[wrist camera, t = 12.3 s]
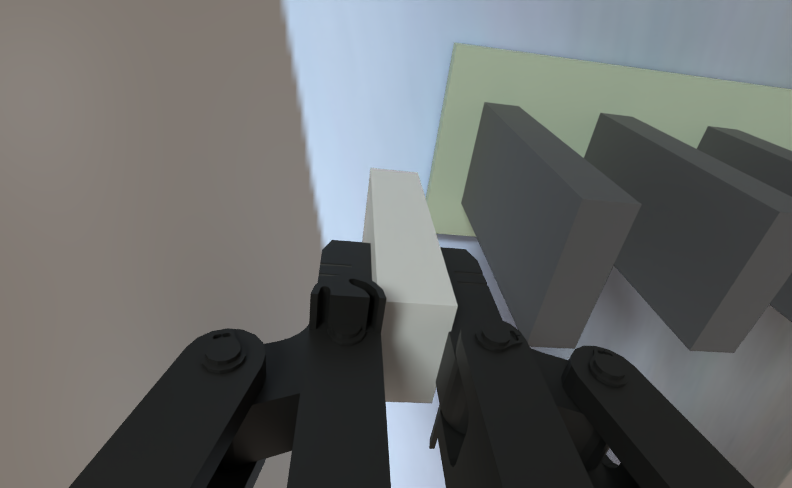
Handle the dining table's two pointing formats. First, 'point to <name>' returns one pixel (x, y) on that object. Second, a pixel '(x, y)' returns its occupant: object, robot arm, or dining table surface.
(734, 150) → the domino
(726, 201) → the domino
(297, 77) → the dining table surface
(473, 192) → the domino
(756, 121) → the strip
